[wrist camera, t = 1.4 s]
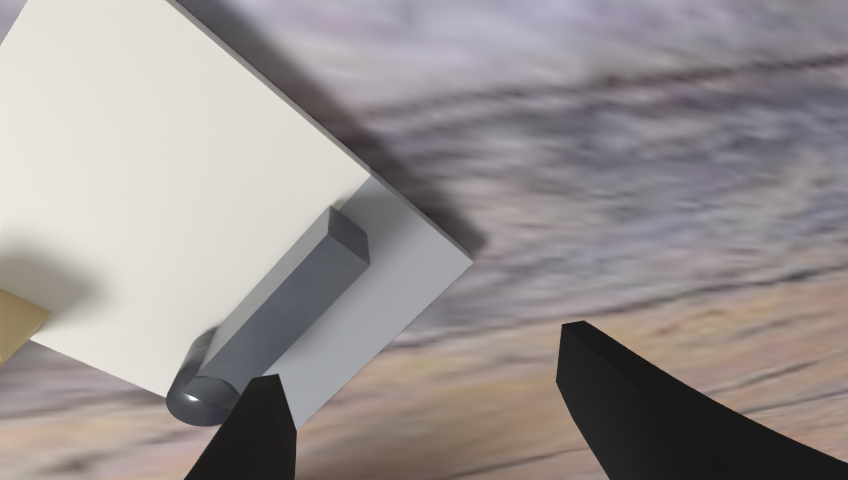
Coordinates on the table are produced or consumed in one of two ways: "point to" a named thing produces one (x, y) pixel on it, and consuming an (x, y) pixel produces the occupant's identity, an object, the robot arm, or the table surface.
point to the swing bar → (269, 319)
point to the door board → (181, 201)
